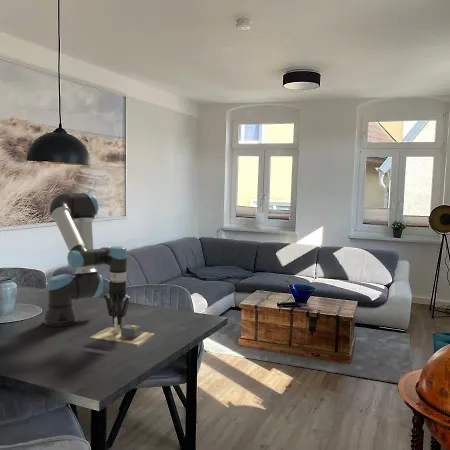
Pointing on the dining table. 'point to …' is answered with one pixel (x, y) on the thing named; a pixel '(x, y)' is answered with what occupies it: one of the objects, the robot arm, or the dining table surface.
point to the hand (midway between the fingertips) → (116, 331)
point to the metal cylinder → (122, 322)
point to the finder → (130, 331)
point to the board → (116, 336)
